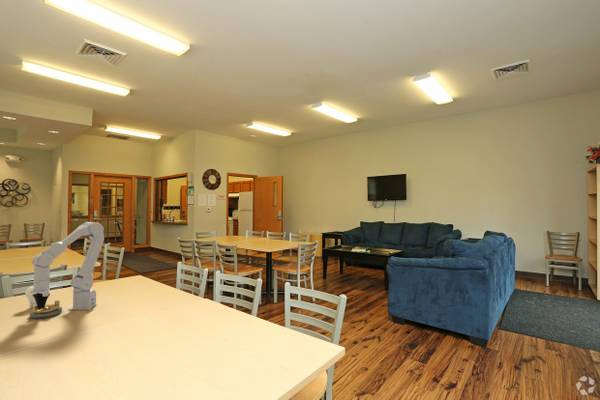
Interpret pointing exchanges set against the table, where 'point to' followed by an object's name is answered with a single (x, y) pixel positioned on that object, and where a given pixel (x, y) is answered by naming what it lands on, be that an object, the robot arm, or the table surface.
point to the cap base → (45, 314)
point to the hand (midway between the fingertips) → (40, 308)
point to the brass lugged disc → (47, 308)
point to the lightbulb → (30, 296)
